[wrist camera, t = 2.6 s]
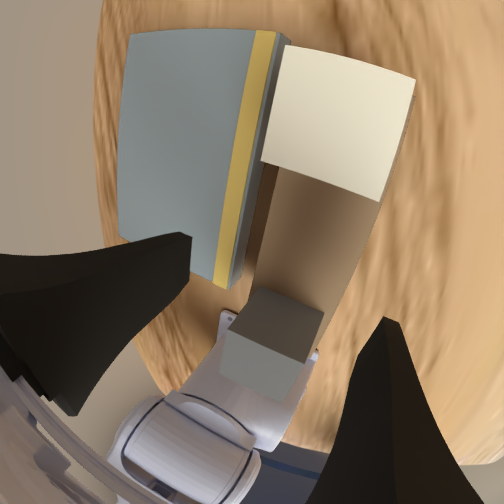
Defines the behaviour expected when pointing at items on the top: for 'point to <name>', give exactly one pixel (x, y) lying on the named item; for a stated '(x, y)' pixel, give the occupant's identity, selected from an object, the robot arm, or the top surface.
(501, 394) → the top surface
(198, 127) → the dock
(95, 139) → the top surface
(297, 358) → the gray cube
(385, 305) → the top surface
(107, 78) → the top surface
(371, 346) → the robot arm
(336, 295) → the brown piece
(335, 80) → the cream block
